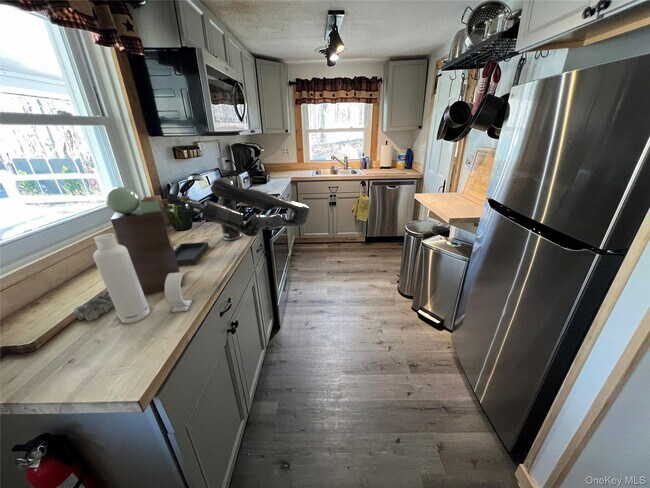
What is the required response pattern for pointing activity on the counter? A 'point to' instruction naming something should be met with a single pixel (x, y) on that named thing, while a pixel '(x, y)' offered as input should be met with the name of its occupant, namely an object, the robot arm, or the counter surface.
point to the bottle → (120, 278)
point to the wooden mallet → (160, 201)
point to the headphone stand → (175, 292)
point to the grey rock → (94, 307)
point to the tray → (190, 253)
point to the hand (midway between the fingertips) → (168, 197)
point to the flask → (128, 201)
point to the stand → (147, 247)
